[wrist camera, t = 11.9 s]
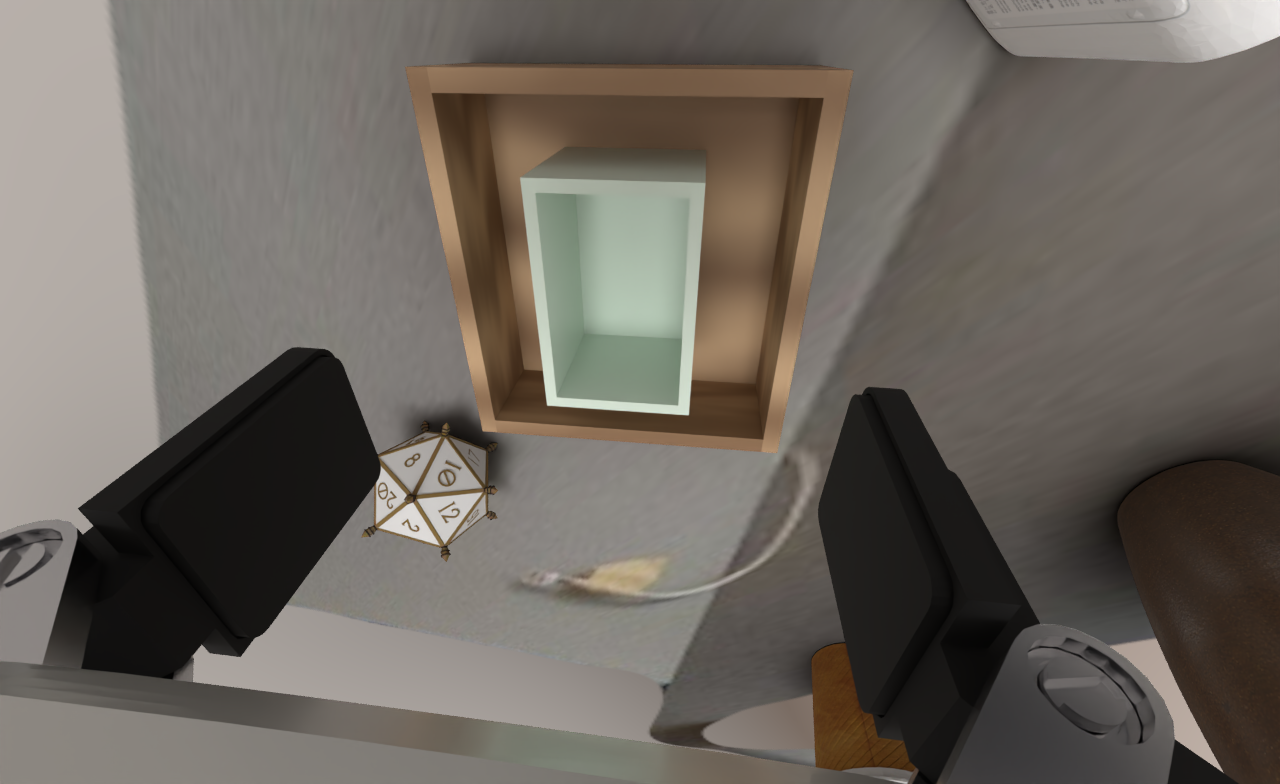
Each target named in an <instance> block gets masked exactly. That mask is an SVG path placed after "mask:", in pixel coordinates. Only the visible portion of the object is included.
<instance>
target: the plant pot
mask: <svg viewBox="0 0 1280 784" xmlns="http://www.w3.org/2000/svg"><path fill="white" fill-rule="evenodd" d="M1117 521H1118V526H1119V530H1120V534H1121V538H1122V542H1123V546H1124V549H1125V553H1126V556H1127V559H1128V562H1129V566H1130V569H1131V572H1132V575H1133V578H1134V581H1135V584H1136V587H1137V590H1138V592H1139V595H1140V598H1141V601H1142V604H1143V606H1144V609H1145V611H1146V614H1147V616H1148V619H1149V621H1150V624H1151V626H1152V629H1153V631H1154V634H1155V636H1156V638H1157V641H1158V643H1159V645H1160V647H1161V650H1162V652H1163V654H1164V656H1165V659H1166V661H1167V663H1168V665H1169V668H1170V670H1171V672H1172V674H1173V676H1174V678H1175V680H1176V683H1177V685H1178V687H1179V689H1180V691H1181V692H1182V695H1183V697H1184V699H1185V701H1186V703H1187V705H1188V707H1189V709H1190V711H1191V713H1192V714H1193V716H1194V718H1195V720H1196V722H1197V724H1198V726H1199V728H1200V729H1201V732H1202V733H1203V735H1204V737H1205V739H1206V741H1207V743H1208V745H1209V747H1210V748H1211V750H1212V752H1213V754H1214V756H1215V757H1216V759H1217V761H1218V763H1219V765H1220V766H1221V768H1222V770H1223V772H1224V774H1226V775H1227V776H1229V777H1230V778H1231V779H1233V780H1234V781H1236V782H1237V783H1239V784H1280V476H1277V475H1275V474H1272V473H1269V472H1266V471H1263V470H1260V469H1257V468H1254V467H1251V466H1248V465H1245V464H1242V463H1239V462H1233V461H1225V460H1210V461H1201V462H1194V463H1190V464H1186V465H1181V466H1178V467H1175V468H1172V469H1169V470H1166V471H1164V472H1162V473H1160V474H1158V475H1156V476H1154V477H1152V478H1150V479H1148V480H1147V481H1145V482H1144V483H1142V484H1141V485H1139V486H1138V487H1137V488H1135V489H1134V490H1133V491H1132V492H1131V493H1130V494H1129V495H1128V496H1127V497H1126V498H1125V500H1124V501H1123V502H1122V504H1121V506H1120V508H1119V510H1118V515H1117Z"/></svg>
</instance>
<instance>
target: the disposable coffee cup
mask: <svg viewBox="0 0 1280 784" xmlns="http://www.w3.org/2000/svg"><path fill="white" fill-rule="evenodd" d="M811 664H812V687H813V712H814V734H815V735H814V736H815V760H816V767H817V768H824V769H830V770H836V771H843V772H849V773H856V774H861V775H866V776H870V777H875V778H880V779H885V780H890V781H895V782H899V783H904V784H907V783H908V781H909V779H910V777H911V775H912V773H913V772H914V770H915V768H916V767H915V766H914V765H913V764H912V763H911V762H910V761H909V758H908V754H907V751H906V747H905V743H904V741H900V740H893V739H885V738H878V736H877V732H876V727H875V723H874V719H873V715H872V714H867V713H864V712H863V711H862V709H861V707H860V705H859V701H858V697H857V693H856V688H855V684H854V679H853V674H852V670H851V665H850V661H849V656H848V652H847V647H846V643H840V644H834V645H830V646H827V647H825V648H822V649H821V650H819V651H818V652H817V653H816V654H815V655H814V656H813V658H812V662H811Z"/></svg>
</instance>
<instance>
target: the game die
mask: <svg viewBox="0 0 1280 784" xmlns="http://www.w3.org/2000/svg"><path fill="white" fill-rule="evenodd" d="M420 427H422V429H421V430H422V431H423V433H421V434H419V435H417V436H415V437H413V438H411V439H409V440H407V441H405V442H403V443H401V444H399V445H397V446H395V447H393V448H390V449H388V450H386V451H384V452H382V453H380V454H377V455H378V458H379V460H380V464H381V472H380V476H379V479H378V480H377V482H376V484H375V485H374V526H372V527H368V529H366V530H365V531H364V533H363V535H362V537H371V535H372V534H374V532H375V531H376V530H380V531H383V532H387V533H390V534H394V535H397V536H401V537H404V538H408V539H411V540H415V541H418V542H422V543H425V544H429V545H432V546H436V547H439V548H442V551H441V554H442V555H441V557H442V558H443V559H444V560H445V561H446V562H447V560H448V557H449V555H451V554H450V553H449V551H450V550H448V548H447V546H448V545H449V544H451V543H452V542H453V541H454V540H455V539H457V538H458V537H459V536H460V535H462V534H463V533H464V532H465V531H467V530H468V529H469V528H470V527H471V526H473V525H474V524H475V523H476V522H478V521H479V520H480V519H481V518H483V517H484V516H485V515H486V516H487V517H488V518H490V520H492V519H496V518H497V516H496V513H494V512H492V511H488V494H493V495H494V494H495V493H496V492H497V491H498V490H497V489H496V488H495V486H489V487H488V453H489V452H490V451H493V450H496V449H495V448H496V446H497V443H490V445H488V447H487V448H482V447H480V446H477V445H474V444H472V443H469V442H467V441H464V440H461V439H459V438H456V437H453V436H451V435H448V433H449V432H450V429H451V428H450V427H449V425H448V423H446V424H444V425H442V430H441V432H442V433H437V432H429V424H427V423H426V422H425V421H424V422H423V424H422V425H421V426H420ZM362 537H361V538H362Z"/></svg>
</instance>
